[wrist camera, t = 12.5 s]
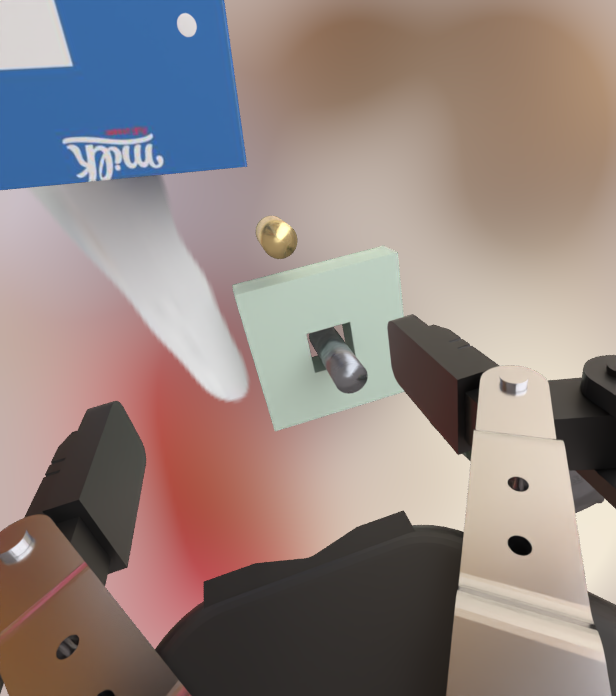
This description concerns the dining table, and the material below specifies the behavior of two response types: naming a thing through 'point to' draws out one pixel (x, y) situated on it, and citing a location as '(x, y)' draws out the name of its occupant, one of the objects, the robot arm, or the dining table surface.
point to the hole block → (317, 314)
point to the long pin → (339, 360)
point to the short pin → (276, 237)
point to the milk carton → (115, 90)
